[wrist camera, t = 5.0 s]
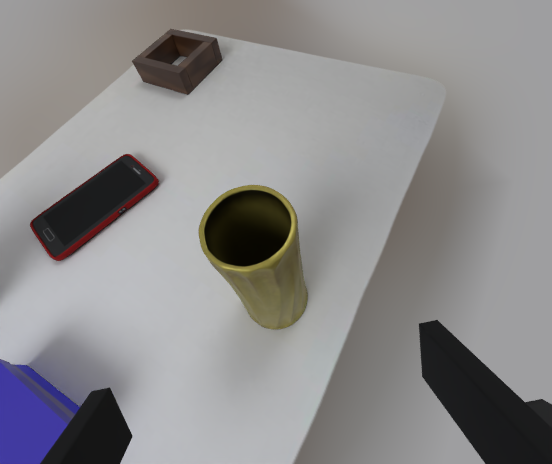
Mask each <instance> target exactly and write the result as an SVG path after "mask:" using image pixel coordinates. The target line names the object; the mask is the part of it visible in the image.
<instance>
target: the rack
mask: <svg viewBox="0 0 552 464" xmlns="http://www.w3.org/2000/svg"><path fill="white" fill-rule="evenodd" d="M179 56H183V57H187V58H186V59H185V60H184V61H183V62H181V63H180V64H179V65H178V66H176V65H172V63H173V62H174V61H175V60H176V59H177V58H178V57H179ZM221 61H222V56H221V53H220V49H219V45H218V42H217V38H214V37H209V36H204V35H199V34H194V33H189V32H184V31H179V30H174V29H170V30H169V31H168V32H167V33H165V34H164V35H163V36H162V37H160V38H159V39H158V40H157V41H156V42H154V43H153V44H152V45H151V46H149V47H148V48H147V49H146V50H145V51H144V52H142V53H141V54H140V55H139V56H137V57H136V58H135V59H134V60H133V61H132V62H133V64H134V66H135V67H136V69H137V71H138V73H139V75H140V76H141V78H142V80H143V82H146V83H150V84H153V85H157V86H160V87H164V88H167V89H170V90H174V91H177V92H181V93H184V94H187V95H188V94H189V93H190V92H191V91H192V90H193V89H194V88H195V87H196V86H197V85H198V84H199V83H200V82H201V81H202V80H203V79H204V78H205V77H206V76H207V75H208V74H209V73H210V72H211V71H212V70H213V69H214V68H215V67H216V66H217V65H218V64H219V63H220V62H221Z"/></svg>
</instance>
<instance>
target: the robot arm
mask: <svg viewBox="0 0 552 464" xmlns="http://www.w3.org/2000/svg"><path fill="white" fill-rule="evenodd" d="M419 332H420V347H421V363H422V377H423V378H424V379H425V381H426V382H427V384H428V385H429V386H430V388H431V389H432V391H433V392H434V393H435V395H436V396H437V398H438V399H439V400H440V402H441V403H442V404H443V406H444V407H445V409H446V410H447V411H448V413H449V414H450V415H451V417H452V418H453V420H454V421H455V422H456V423H457V425H458V426H459V428H460V429H461V431H462V432H463V433H464V435H465V436H466V438H467V439H468V440H469V442H470V443H471V444H472V446H473V447H474V449H475V450H476V451H477V453H478V454H479V455H480V457H481V458H482V459H483V461H484V462H485V464H552V404H550V403H548V402H546V401H544V400H543V399H540V400H535V401H530V402H524V401H523V400H522V399H521V398H520V397H519V396H518V395H516V394H515V393H514V392H513V391H512V390H511V389H510V388H509V387H508V386H507V385H506V384H505V383H504V382H503V381H502V380H501V379H499V378H498V377H497V376H496V375H495V374H494V373H493V372H492V371H491V370H490V369H489V368H488V367H486V365H485V364H483V363H482V362H481V361H480V360H479V359H478V358H477V357H476V356H475V355H474V354H473V353H472V352H471V351H470V350H469V349H467V348H466V347H465V346H464V345H463V344H462V343H461V342H460V341H459V340H458V339H457V338H456V337H455V336H454V335H452V333H450V332H449V331H448V330H447V329H446V328H445V327H444V326H443V325H442V324H441V323H440V322H439V321H438V320H435V321H430V322H426V323H420V324H419ZM131 438H132V434H131V432H130V430H129V428H128V425H127V423H126V421H125V419H124V417H123V415H122V413H121V411H120V408H119V406H118V404H117V402H116V400H115V398H114V396H113V394H112V391H111V389H110V388H106V389H101V390H96V391H92V392H91V393H90V395H89V396H88V397H87V399H86V400H85V402H84V403H83V404H82V406H81V407H80V408H79V410H78V411H77V413H76V414H75V415H74V417H73V418H72V420H71V421H70V422H69V424H68V425H67V427H66V428H65V429H64V431H63V432H62V434H61V435H60V436H59V438H58V439H57V440H56V442H55V443H54V445H53V446H52V447H51V449H50V450H49V452H48V453H47V454H46V456H45V457H44V459H43V460H42V461H41V463H40V464H120V462H121V460H122V458H123V456H124V454H125V451H126V449H127V447H128V445H129V443H130V441H131Z"/></svg>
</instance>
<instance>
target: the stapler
mask: <svg viewBox="0 0 552 464" xmlns="http://www.w3.org/2000/svg"><path fill="white" fill-rule="evenodd" d="M79 408H80V407H79V406H77V405H76V404H75V403H74V402H72V401H71V400H70V399H69V398H67V397H66V396H65V395H64V394H62V393H61V392H60V391H59V390H57V389H56V388H55V387H54V386H52V385H51V384H50V383H49V382H47V381H46V380H45V379H44V378H42V377H41V376H40V375H39V374H37V373H36V372H35V371H34V370H32V369H31V368H30V367H29V366H27V365H13V364H10V363H9V362H7V361H4V360H1V359H0V464H40V463H41V461H42V460H43V459H44V457H45V456H46V454H47V453H48V452H49V450H50V449H51V447H52V446H53V445H54V443H55V442H56V440H57V439H58V438H59V436H60V435H61V434H62V432H63V431H64V429H65V428H66V427H67V425H68V424H69V422H70V421H71V420H72V418H73V417H74V415H75V414H76V413H77V411H78V410H79Z"/></svg>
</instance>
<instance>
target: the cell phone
mask: <svg viewBox="0 0 552 464" xmlns="http://www.w3.org/2000/svg"><path fill="white" fill-rule="evenodd" d="M111 164H112V165H111ZM111 164H110V165H108V166H107V167H105V168H104V169H105V170H104V169H103V170H101V171H100V172H98V173H97V174H98V175H97V174H96V175H94V176H93V177H91V178H90V179H89V180H87V181H86V182H84V183H83V184H82V185H80V186H79V187H77V188H76V189H75V190H73V191H72V192H70V193H69V194H67V195H66V196H65V197H63V198H62V199H60V200H59V201H58V202H56V203H55V204H53V205H52V206H51V207H49V208H48V209H46V210H45V211H44V212H42V213H41V214H40V215H38V216H37V217H36V218H34V219H33V220H32V221H31V223H30V227H31V229H32V231H33V232H34V234H35V235H36V237H37V238H38V240H39V241H40V243H41V244H42V246H43V247H44V249H45V250H46V252H47V253H48V254H49V256H50V257H51V258H53V259H54V260H57V261H60V260H63V259H64V258H66V257H68V256H69V255H70V254H72V253H73V252H74V251H75V250H77V249H78V248H79V247H80V246H82V245H83V244H84V243H85V242H87V241H88V240H89V239H90V238H92V237H93V236H94V235H96V234H97V233H98V232H99V231H101V230H102V229H103V228H104V227H106V226H107V225H108V224H109V223H111V222H112V221H113V220H115V219H116V218H117V217H118V216H120V215H121V214H122V213H123V212H125V211H126V210H127V209H129V208H130V207H131V206H133V205H134V204H135V203H136V202H138V201H139V200H140V199H142V198H143V197H144V196H145V195H147V194H148V193H149V192H150V191H152V190H153V189H154V188H155V187H156V186H157V185H158V184H159V181H158V179H157V178H156V176H155V175H154V174H153V173H151V172H150V171H149V170H148V169H147V168H146V167H145V166H143V165H142V164H141V163H140V162H139V161H138V160H137V159H135V158H134V157H133V156H132V155H130V154H125V155H123V156H121V157H120V158H118V159H117V160H115V161H114V162H112V163H111Z"/></svg>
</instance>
